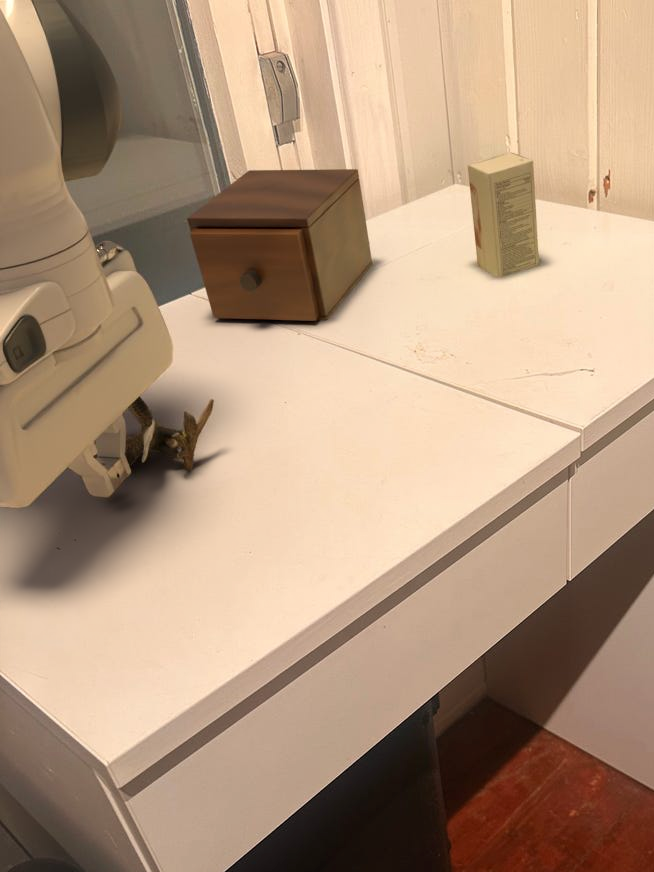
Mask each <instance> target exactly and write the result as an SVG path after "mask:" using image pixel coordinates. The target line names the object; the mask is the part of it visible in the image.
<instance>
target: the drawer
mask: <svg viewBox="0 0 654 872" xmlns="http://www.w3.org/2000/svg"><path fill="white" fill-rule="evenodd" d="M210 228H211V229H195V230H194V231H192V232H191V231H190V233H189V235H190V240H191V243H192V246H193V249H194V253H195V257H196V260H197V261H196V262H197V264H198V268H199V271H200V274H201V278H202V282H203V285H204V288H205V292H206V295H207V299H208V303H209V306H210V309H211V313H212V317H213V318H214V319H234V320H235V319H236V320H237V319H239V320H268V321H269V320H271V321H272V320H273V321H274V320H275V321H278V320H279V321H308V322H309V321H311V322H315V321H317V320H316V319H317V318H318V317H319V310H318V305H317V300H316V295H315V290H314V285H313V280H312V275H311V270H310V265H309V260H308V256H307V251H306V246H305V241H304V236H303V231H302V229H301V227H210Z"/></svg>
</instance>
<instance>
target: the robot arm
mask: <svg viewBox="0 0 654 872" xmlns="http://www.w3.org/2000/svg"><path fill="white" fill-rule="evenodd" d="M122 117H123V103H122V97H121V93H120V90H119V86H118V82H117V79H116V78H115V75H114V73H113V70H112V68H111V66H110V64H109V61H108V60H107V58H106V56H105V55H104V53H103V51H102V49H101V48H100V47H99V45H98V43H97V41H96V40H95V38H93V36H92V34H90V32H89V31H88V30H87V29H86V27H85V25H84V24H83V23H82V22H81V21H80V19H78V17H77V16H76V15H75V13H73V11H72V10H71V9H70V8H69V7H68V6H67V4H66V3H65V2H64V1H63V0H0V507H4V508H17V509H19V508H21V509H22V508H26V507H28V506H30V505H31V504H32V503H33V502H34V501H35V500H36V499H37V498H38V497H40V495H41V494H42V493H43V492H44V491H45V490H47V488H49V486H50V485H51V484H52V483H53V482H54V481H55V480H56V479H58V478H59V476H60V475H61V474H62V473H63V472H64V471H65V470H66V469H67V468H68V469H70V470H72V472H74V473H76V474H77V475H78V476H80V477H81V479H82V481H83V484H84V485H85V488H86V491H87V493H89V495H90V496H93V497H98V498H99V497H100V498H109V497H111V496H112V495H113V493H114V492H115V491H116V490H117V489H118V488H120V487H119V486H121V484H122V483H123V482H124V481H126V480H127V478H128V477H129V476H130V475H131V474H132V470H131V467H130V465H129V464H128V462H127V459H126V456H125V454H124V453H125V445H126V436H127V423H126V420H125V418H124V415H123V413H124V412H125V411H126V410H127V409H129V408H128V407H129V406H130V405H131V404H132V403H133V402H134V401H135V400H136V399H137V398H138V397H139V396H140V397H141V395H142V394H143V393H145V391H146V390H148V389H149V388H150V387H151V385H153V383H155V381H157V380H158V379H159V378H160V377H161V376H162V375H163V374H164V373H165V372H166V371H167V370H168V369H169V368H170V367H171V366H172V364H173V360H174V344H173V340H172V337H171V333H170V332H169V328H168V327H167V324H166V321H165V319H164V316H163V314H162V311H161V309H160V307H159V304H158V302H157V300H156V298H155V296H154V294H153V292H152V290H151V288H150V286H149V284H148V282H147V281H146V280H145V278H144V277H143V276H142V274H140V273H139V272H137V271H138V270H137V268H136V264H135V261H134V260H133V256H132V255H131V253H130V251H128V250H126V249H125V248H124V247H123V246H122V245H120V244H118V243H114V242H113V241H111V240H103V241H101V242H99V243H98V244H95V243H94V240H93V236H92V234H91V231H90V228H89V226H88V223H87V220H86V218H85V216H84V214H83V213H82V211H81V209H80V208H79V207H78V206H77V204H76V203H75V201H74V199H73V198H72V196H71V194H70V192H69V190H68V187H67V184H66V182H71V181H76V180H81V179H87V178H90V177H95V176H97V175H100V173H101V172H102V171H103V169H104V168H105V166H106V164H107V163H108V161H109V160H110V157H111V155H112V153H113V151H114V149H115V146H116V143H117V139H118V136H119V134H120V128H121V124H122ZM94 456H97V457H96V458H95V457H94Z"/></svg>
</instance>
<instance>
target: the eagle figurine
mask: <svg viewBox="0 0 654 872" xmlns="http://www.w3.org/2000/svg"><path fill="white" fill-rule="evenodd" d="M214 402H215V400H214V399H213V398H211V399H209V401H208V404H207V406H206V407H205V409H204V410H203V411H202V413H201V415H200V417H199V419H198V421H196V418H195V416H194V415H192V414H191V413H189V412H188V411H187V410H183V422H182V423H183V430H182V429H176V428H170V427H167V426H166V425H164V424H162V423H158V422H157V421H155V419H153V413H152V410H151V409H150V408H149V406H148V405H147V403H146V402H145V401H144V400H143V398H142V397H141V395H140V396H139V397H138V398H137V399H136V400H135V401H134V402H133V403H132V404H131V405H130V406H129V407H128V408H127V409H128V410H129V412H130V413H131V414H132V415H133V417H134V418H135V419H136V420H137V421H138V422H139V424H140V430H139V432H138V433H136V434H133V435H126V445H125V453H124V454H125V456H126V459H127V462H128V464H129V466H132V465H133V463H135V462H136V460H137V458H138V457H140V456H141V453H142V457H141V462H142V463H144V462H146V460H147V457H148V455H149V452H156V453H160V454H161V455H163V456H165V457H169V458H171V459H176V460H182V461H183V466H184V468H185V469H186V470H187V471H188V472H191V471H193V470H194V463H195V461H194V459H195V451H196V447H197V443H198V439H199V436H200V435H201V433H202V431H203V429H204V428H205V426H206V423H207V421H208V420H209V418H210V416H211V414H212V412H213V408H214ZM178 446H179V448H180V450H178V449H176V448H177V447H178Z"/></svg>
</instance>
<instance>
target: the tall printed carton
mask: <svg viewBox="0 0 654 872" xmlns="http://www.w3.org/2000/svg"><path fill="white" fill-rule="evenodd" d="M534 167H535V166H534V160H533V159H531V158H529V157H525V156H523V155H520V154H518V153H515V152H511V151H508V152H504V153H502V154H498V155H495V156H491V157H487V158H483V159H481V160H478V161H474V162H471V163H468V164H467V173H468V182H469V191H470V192H469V193H470V200H471V201H470V202H471V213H472V214H471V215H472V223H473V232H474V242H475V250H476V251H475V252H476V253H475V254H476V262H477V263H476V264H477V267H479V268H481V269H482V270H484V271H485V272H488V274H491V275H492V276H494V277H496V278H501V277H505V276H508V275H511V274H515V273H518V272H521V271H524V270H527V269H530V268H533V267H536V266H539V265H540V258H539V256H540V255H539V239H538V222H537V221H538V220H537V206H536V205H537V204H536V188H535V187H536V186H535V185H536V184H535V172H534V171H535V170H534Z"/></svg>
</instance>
